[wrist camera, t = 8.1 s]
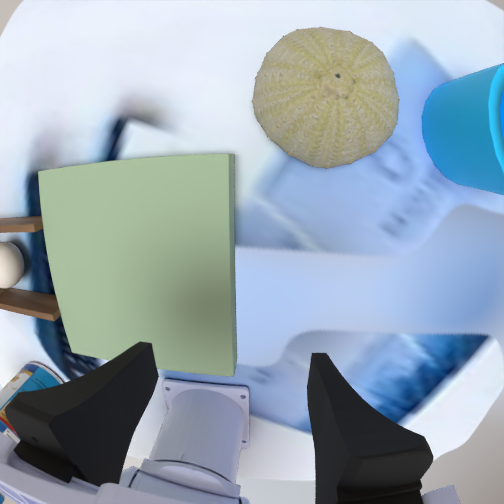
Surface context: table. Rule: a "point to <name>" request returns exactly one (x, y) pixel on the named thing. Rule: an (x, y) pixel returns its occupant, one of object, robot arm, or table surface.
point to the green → (146, 258)
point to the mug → (468, 129)
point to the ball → (10, 265)
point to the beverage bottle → (25, 380)
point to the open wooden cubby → (23, 299)
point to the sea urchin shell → (326, 96)
